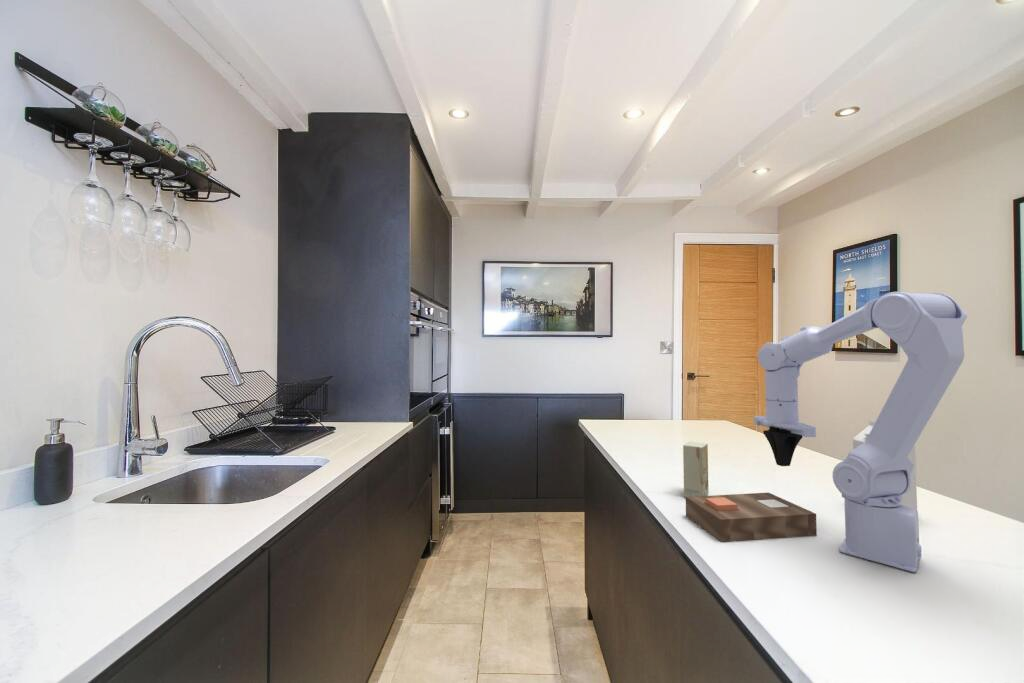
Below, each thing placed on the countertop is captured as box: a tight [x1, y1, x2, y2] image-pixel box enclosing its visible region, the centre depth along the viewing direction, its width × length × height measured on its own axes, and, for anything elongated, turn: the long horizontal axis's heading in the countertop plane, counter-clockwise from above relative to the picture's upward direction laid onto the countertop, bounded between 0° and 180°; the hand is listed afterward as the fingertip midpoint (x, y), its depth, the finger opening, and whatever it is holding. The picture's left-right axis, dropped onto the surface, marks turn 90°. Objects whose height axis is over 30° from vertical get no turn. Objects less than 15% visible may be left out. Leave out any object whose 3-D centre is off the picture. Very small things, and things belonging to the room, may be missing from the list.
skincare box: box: [682, 441, 710, 498], centre depth 100 cm, size 6×4×12 cm
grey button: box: [756, 499, 789, 508], centre depth 83 cm, size 4×4×4 cm
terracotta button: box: [706, 497, 737, 511], centre depth 82 cm, size 4×4×4 cm
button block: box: [685, 492, 818, 543], centre depth 82 cm, size 19×12×4 cm, turn 97°
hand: (783, 465), depth 87 cm, fingers closed
